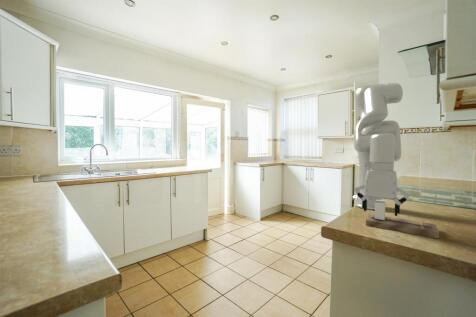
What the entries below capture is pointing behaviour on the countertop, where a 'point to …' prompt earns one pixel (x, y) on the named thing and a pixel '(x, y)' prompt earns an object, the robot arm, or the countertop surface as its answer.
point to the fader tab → (380, 209)
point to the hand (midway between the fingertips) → (380, 212)
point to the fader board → (404, 226)
